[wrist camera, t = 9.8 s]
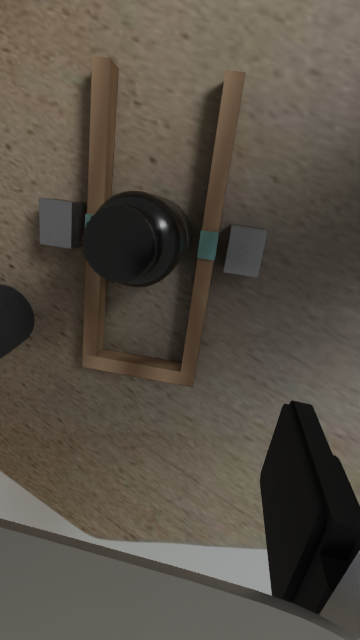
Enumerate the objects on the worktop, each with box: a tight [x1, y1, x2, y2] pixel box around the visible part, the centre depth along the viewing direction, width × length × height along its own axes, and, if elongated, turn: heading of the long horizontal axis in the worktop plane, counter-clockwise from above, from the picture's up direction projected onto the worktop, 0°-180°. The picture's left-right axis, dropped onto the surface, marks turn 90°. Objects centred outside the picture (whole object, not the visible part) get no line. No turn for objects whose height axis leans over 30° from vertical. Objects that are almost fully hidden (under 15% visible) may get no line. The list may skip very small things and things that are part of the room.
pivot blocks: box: [39, 198, 268, 278], centre depth 30 cm, size 20×4×3 cm, turn 82°
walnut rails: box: [82, 56, 245, 387], centre depth 30 cm, size 12×28×2 cm, turn 172°
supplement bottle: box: [82, 191, 192, 287], centre depth 25 cm, size 7×7×12 cm
